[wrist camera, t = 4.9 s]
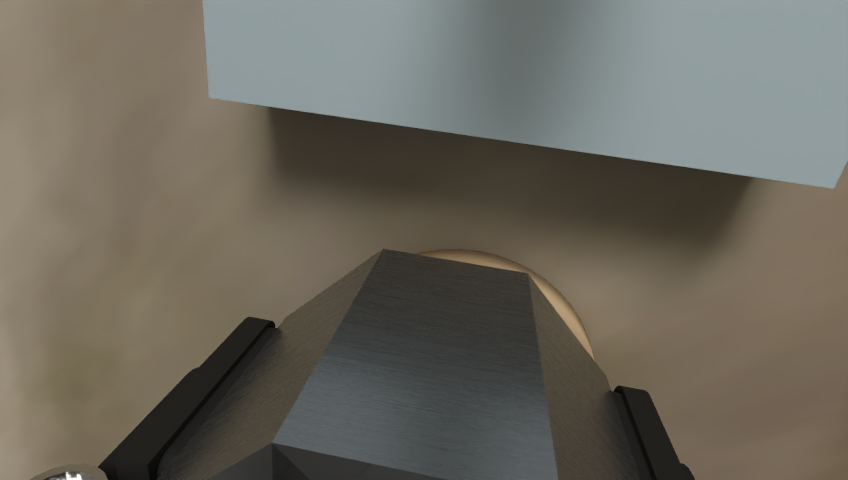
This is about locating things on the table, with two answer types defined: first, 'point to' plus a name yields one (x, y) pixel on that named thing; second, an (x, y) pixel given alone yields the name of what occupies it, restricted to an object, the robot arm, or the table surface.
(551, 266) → the table surface
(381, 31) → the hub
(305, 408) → the grey octagonal ring
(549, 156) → the table surface
